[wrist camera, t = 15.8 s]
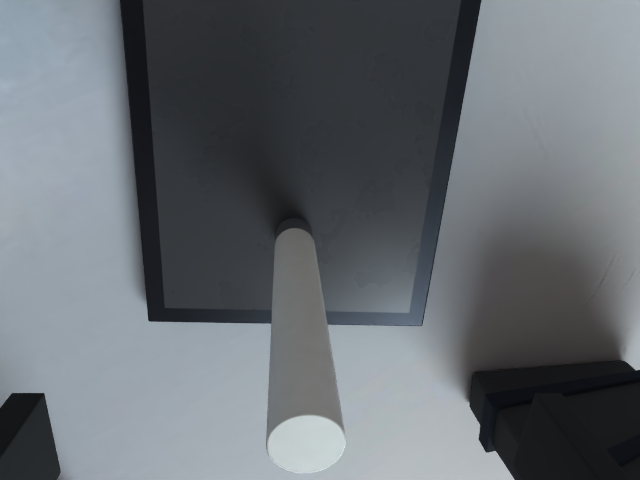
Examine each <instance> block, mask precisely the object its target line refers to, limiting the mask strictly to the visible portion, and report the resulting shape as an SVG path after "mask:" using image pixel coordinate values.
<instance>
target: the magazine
mask: <svg viewBox="0 0 640 480" xmlns="http://www.w3.org/2000/svg"><path fill="white" fill-rule="evenodd" d="M535 393H561V394H562V395H563V397H564V398H565V399H566V400H567V402H568V403H569V404H570V405H571V407H572V408H573V409H574V410H575V412H576V413H577V414H578V415H579V416H580V418H581V419H582V420H583V421H584V423H585V424H586V425H587V426H588V428H589V429H590V430H591V431H592V433H593V434H594V435H595V436H596V438H597V439H598V440H599V441H600V442H601V444H602V445H603V446H604V447H605V449H606V450H607V451H608V452H609V454H610V455H611V456H612V457H613V459H614V460H615V461H616V462H617V464H618V465H619V466H620V467H621V469H622V470H623V471H624V472H625V473H626V475H627V476H628V477H629V478H630V480H640V370H637V371H636V370H635V369H633V368H632V367H631V366H630V365H629V364H628V363H627V362H625V361H609V362H597V363H585V364H572V365H560V366H547V367H535V368H523V369H510V370H498V371H485V372H476V373H474V374H473V378H472V387H471V396H470V408H471V410H472V412H473V413H474V415H475V417H476V418H477V420H478V422H479V423H480V425H481V426H480V434H479V441H480V442H481V444H482V446H483V448H484V450H485V451H486V452H492V451H496V452H497V453H498V455H499V456H500V458H501V459H502V461H503V462H504V464H505V465H506V467H507V468H508V470H509V471H510V473H511V475H512V476H513V478H514V479H515V480H521V479H520V477H519V476H518V474H517V472H516V470H515V468H514V467H513V465H512V464H513V461H514V458H515V455H516V451H517V448H518V445H519V442H520V439H521V436H522V433H523V430H524V426H525V423H526V420H527V417H528V414H529V411H530V408H531V405H532V402H533V398H534V395H535Z"/></svg>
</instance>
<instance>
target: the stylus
mask: <svg viewBox="0 0 640 480" xmlns="http://www.w3.org/2000/svg"><path fill="white" fill-rule="evenodd" d="M345 444H346V437H345V431H344V425H343V418H342V412H341V406H340V400H339V393H338V387H337V381H336V375H335V369H334V362H333V356H332V350H331V344H330V337H329V331H328V325H327V319H326V313H325V306H324V300H323V294H322V288H321V281H320V275H319V269H318V263H317V257H316V250H315V244H314V238H313V232H312V229H311V227H310V225H309V224H308V223H307V222H306V221H304V220H302V219H299V218H289V219H286V220H284V221H283V222H281V223H280V224H279V226H278V227H277V229H276V233H275V253H274V276H273V299H272V321H271V344H270V367H269V390H268V412H267V435H266V449H267V452H268V455H269V457H270V458H271V460H272V461H273V462H274V463H275V464H276V465H277V466H279V467H280V468H282V469H284V470H287V471H290V472H294V473H313V472H317V471H320V470H323V469H325V468H327V467H329V466H331V465H332V464H334V463H335V462H336V461H337V460H338V459H339V458H340V456H341V455H342V453H343V451H344V448H345Z"/></svg>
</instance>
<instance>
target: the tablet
mask: <svg viewBox="0 0 640 480" xmlns="http://www.w3.org/2000/svg"><path fill="white" fill-rule="evenodd" d="M480 4H481V0H120V5H121V17H122V28H123V39H124V50H125V62H126V73H127V84H128V96H129V107H130V118H131V129H132V141H133V152H134V163H135V175H136V186H137V197H138V208H139V220H140V231H141V242H142V253H143V265H144V276H145V287H146V299H147V310H148V320H149V321H155V322H214V323H271V321H272V299H273V276H274V253H275V233H276V229H277V227H278V226H279V224H280V223H281V222H283V221H284V220H286V219H289V218H299V219H302V220H304V221H306V222H307V223H308V224H309V225H310V227H311V229H312V232H313V238H314V244H315V250H316V257H317V263H318V269H319V275H320V281H321V288H322V294H323V300H324V306H325V313H326V319H327V324H331V325H389V326H422V324H423V318H424V313H425V307H426V302H427V296H428V291H429V285H430V280H431V274H432V269H433V263H434V258H435V252H436V247H437V241H438V236H439V230H440V225H441V219H442V214H443V208H444V203H445V197H446V192H447V186H448V181H449V175H450V170H451V164H452V159H453V153H454V148H455V142H456V136H457V131H458V125H459V120H460V114H461V109H462V103H463V98H464V92H465V87H466V81H467V76H468V70H469V65H470V59H471V54H472V48H473V43H474V37H475V32H476V26H477V21H478V15H479V10H480Z"/></svg>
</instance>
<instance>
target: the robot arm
mask: <svg viewBox="0 0 640 480" xmlns="http://www.w3.org/2000/svg"><path fill="white" fill-rule="evenodd" d="M512 465H513V467H514V468H515V470H516V472H517V474H518V476H519V477H520V479H521V480H630V478H629V477H628V476H627V475H626V473H625V472H624V471H623V470H622V469H621V467H620V466H619V465H618V464H617V462H616V461H615V460H614V459H613V457H612V456H611V455H610V454H609V452H608V451H607V450H606V449H605V447H604V446H603V445H602V444H601V442H600V441H599V440H598V439H597V438H596V436H595V435H594V434H593V433H592V431H591V430H590V429H589V428H588V426H587V425H586V424H585V423H584V421H583V420H582V419H581V418H580V416H579V415H578V414H577V413H576V412H575V410H574V409H573V408H572V407H571V405H570V404H569V403H568V402H567V400H566V399H565V398H564V397H563V395H562V394H561V393H535V395H534V398H533V402H532V405H531V408H530V411H529V414H528V417H527V420H526V423H525V426H524V430H523V433H522V436H521V439H520V442H519V445H518V448H517V451H516V455H515V458H514V461H513V464H512ZM60 472H61V471H60V466H59V461H58V457H57V452H56V447H55V442H54V438H53V433H52V428H51V423H50V419H49V414H48V409H47V405H46V400H45V395H44V393H12V394H11V395H10V396H9V398H8V399H7V400H6V402H5V403H4V404H3V405H2V407H1V408H0V480H57V478H58V476H59V474H60Z"/></svg>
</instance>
